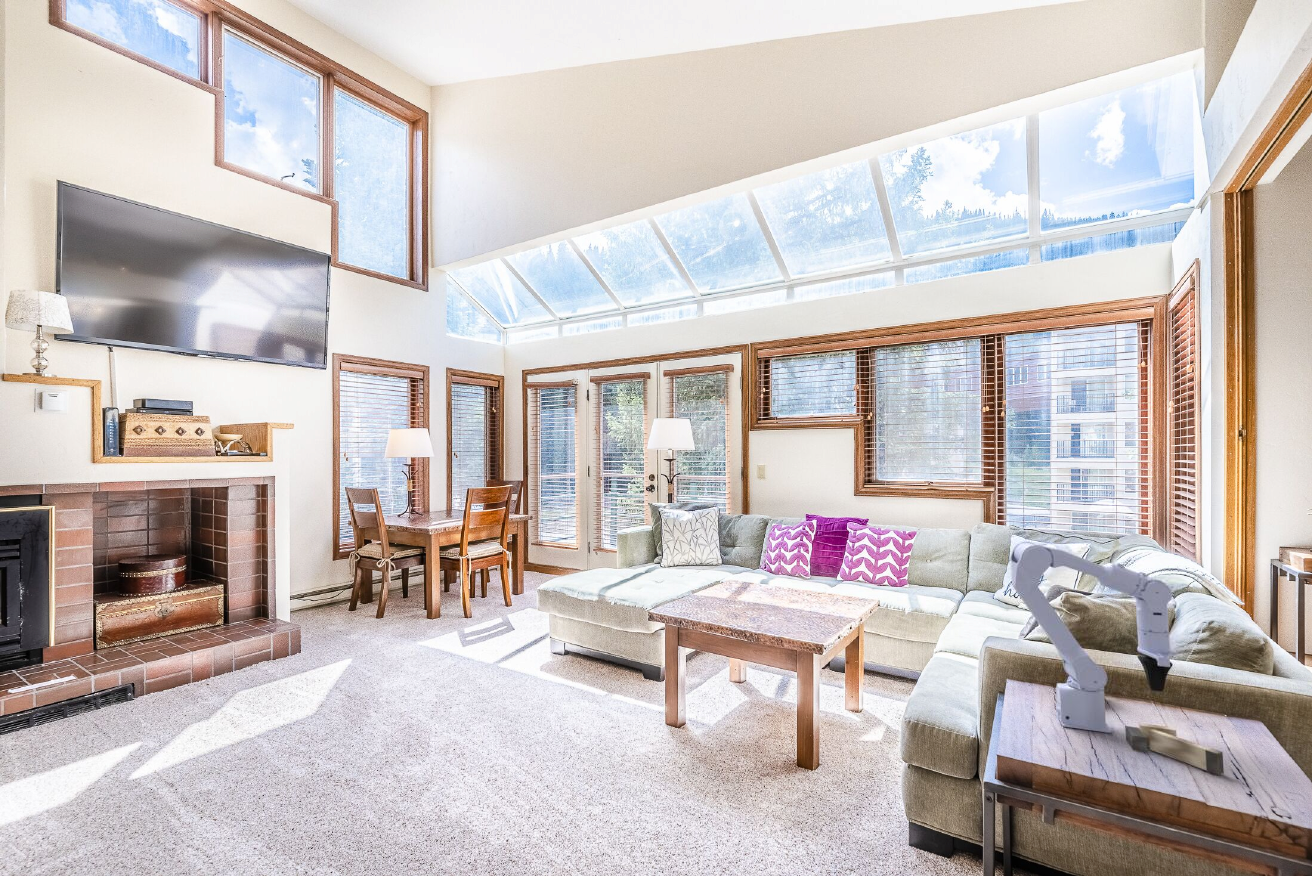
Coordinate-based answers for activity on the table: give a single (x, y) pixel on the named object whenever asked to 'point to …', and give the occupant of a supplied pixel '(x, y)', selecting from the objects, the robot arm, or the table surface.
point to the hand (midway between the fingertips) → (1156, 690)
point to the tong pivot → (1144, 735)
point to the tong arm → (1187, 751)
